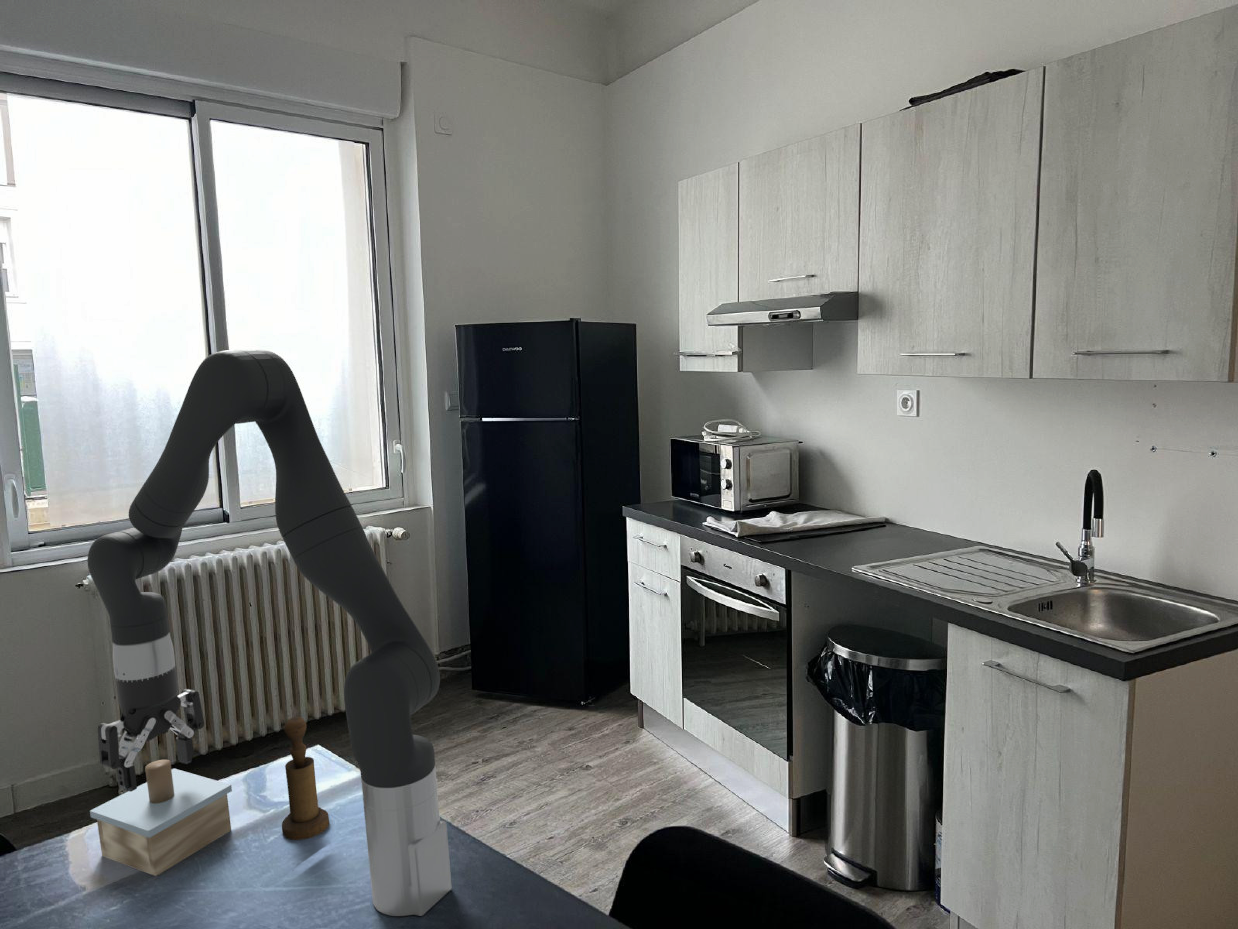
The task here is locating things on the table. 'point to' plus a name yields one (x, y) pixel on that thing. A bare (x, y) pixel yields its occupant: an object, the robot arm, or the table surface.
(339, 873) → the table surface
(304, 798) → the mortar and pestle
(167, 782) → the lid
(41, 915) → the table surface
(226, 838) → the table surface
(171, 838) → the box
